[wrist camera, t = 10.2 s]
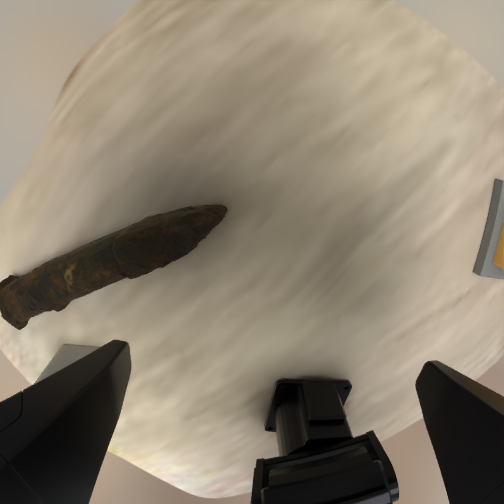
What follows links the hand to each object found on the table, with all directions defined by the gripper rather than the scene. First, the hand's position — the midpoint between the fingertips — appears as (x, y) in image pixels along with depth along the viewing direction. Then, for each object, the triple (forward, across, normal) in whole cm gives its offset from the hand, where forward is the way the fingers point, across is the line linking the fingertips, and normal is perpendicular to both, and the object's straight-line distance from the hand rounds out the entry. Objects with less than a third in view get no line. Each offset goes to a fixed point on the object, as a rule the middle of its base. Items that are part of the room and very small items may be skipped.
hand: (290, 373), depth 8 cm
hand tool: (+12, +11, +2) cm, 17 cm away
